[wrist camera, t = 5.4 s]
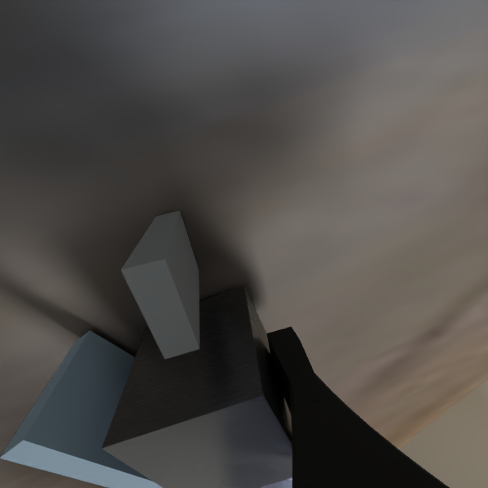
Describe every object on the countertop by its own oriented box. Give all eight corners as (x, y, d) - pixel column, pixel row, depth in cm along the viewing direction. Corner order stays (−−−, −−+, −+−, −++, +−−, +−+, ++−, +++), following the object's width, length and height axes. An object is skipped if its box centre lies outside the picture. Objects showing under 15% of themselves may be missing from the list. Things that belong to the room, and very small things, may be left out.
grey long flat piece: (253, 442, 17) (271, 536, 13) (241, 446, 17) (255, 542, 13) (180, 210, 9) (165, 258, 5) (156, 215, 9) (120, 270, 5)
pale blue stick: (241, 421, 15) (256, 514, 11) (230, 429, 15) (241, 523, 11) (89, 330, 10) (23, 439, 6) (74, 342, 10) (-1, 458, 6)
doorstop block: (278, 359, 13) (308, 473, 9) (201, 384, 13) (193, 507, 9) (244, 285, 10) (263, 396, 6) (149, 319, 11) (101, 448, 6)
